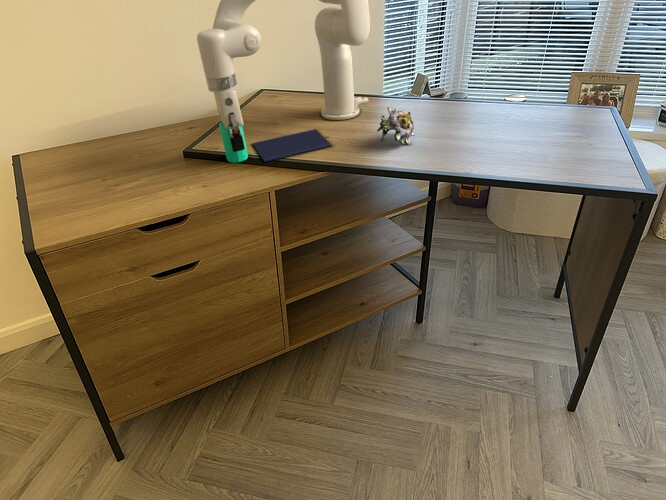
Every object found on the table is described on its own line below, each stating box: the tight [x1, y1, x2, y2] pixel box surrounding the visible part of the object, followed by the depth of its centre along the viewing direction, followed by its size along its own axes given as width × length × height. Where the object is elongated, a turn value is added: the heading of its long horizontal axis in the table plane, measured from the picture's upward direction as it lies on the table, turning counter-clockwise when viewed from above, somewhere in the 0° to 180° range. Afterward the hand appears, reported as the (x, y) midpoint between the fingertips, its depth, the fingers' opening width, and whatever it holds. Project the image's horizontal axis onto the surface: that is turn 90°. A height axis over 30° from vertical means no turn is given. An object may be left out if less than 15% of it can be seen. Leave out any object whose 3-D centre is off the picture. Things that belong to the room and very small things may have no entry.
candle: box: [218, 118, 249, 164], centre depth 133 cm, size 6×6×12 cm
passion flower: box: [376, 106, 415, 145], centre depth 135 cm, size 11×11×12 cm
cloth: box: [252, 128, 333, 163], centre depth 140 cm, size 20×14×1 cm
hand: (235, 144), depth 134 cm, fingers open, 9 cm apart
